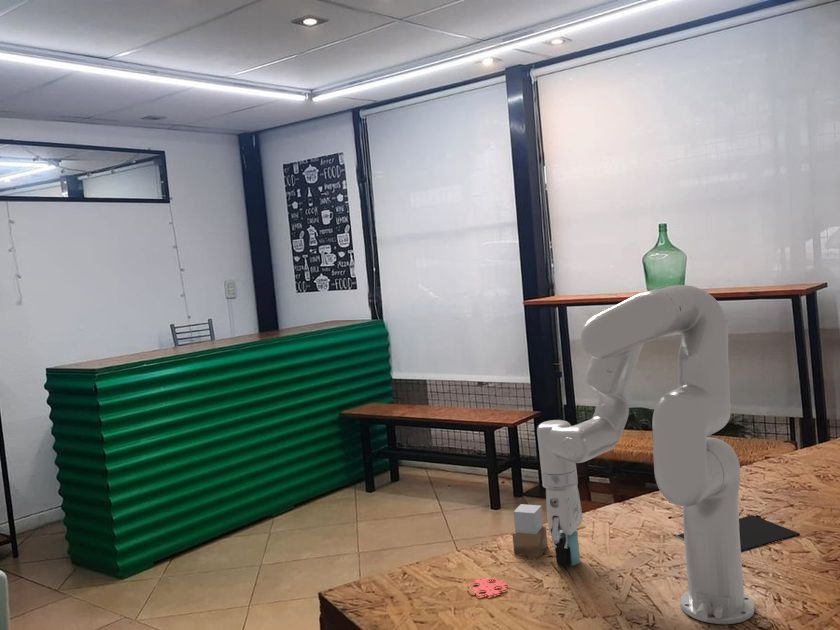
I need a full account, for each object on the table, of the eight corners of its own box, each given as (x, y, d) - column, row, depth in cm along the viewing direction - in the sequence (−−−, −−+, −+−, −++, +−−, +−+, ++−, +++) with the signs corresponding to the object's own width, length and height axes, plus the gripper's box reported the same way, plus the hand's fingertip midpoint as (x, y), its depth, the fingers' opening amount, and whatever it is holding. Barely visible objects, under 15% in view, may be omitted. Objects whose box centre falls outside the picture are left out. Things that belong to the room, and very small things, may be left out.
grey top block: (536, 534, 163) (534, 513, 163) (515, 532, 166) (513, 511, 165) (543, 526, 168) (541, 505, 167) (522, 524, 170) (520, 504, 170)
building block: (475, 598, 145) (512, 589, 147) (462, 583, 152) (497, 574, 155) (476, 602, 145) (512, 593, 147) (462, 586, 153) (497, 578, 155)
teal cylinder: (576, 566, 154) (573, 539, 154) (553, 564, 156) (551, 537, 156) (583, 557, 158) (580, 530, 158) (561, 555, 161) (558, 529, 160)
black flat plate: (801, 537, 161) (750, 517, 175) (801, 531, 161) (749, 511, 175) (719, 561, 153) (673, 537, 168) (719, 555, 153) (672, 532, 167)
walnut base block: (539, 557, 163) (537, 535, 163) (514, 554, 166) (512, 533, 166) (547, 546, 168) (545, 526, 168) (523, 544, 171) (521, 523, 171)
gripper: (564, 491, 147) (573, 577, 148) (587, 467, 162) (595, 546, 163) (529, 489, 151) (539, 574, 152) (555, 466, 166) (563, 543, 167)
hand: (568, 558), depth 157 cm, fingers closed on teal cylinder, 4 cm apart
